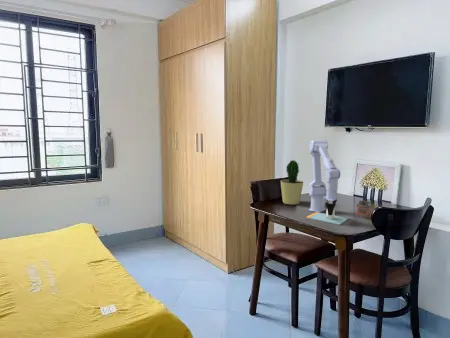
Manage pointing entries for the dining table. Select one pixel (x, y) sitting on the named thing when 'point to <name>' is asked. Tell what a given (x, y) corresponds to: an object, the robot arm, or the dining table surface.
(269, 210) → the dining table surface
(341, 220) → the mat
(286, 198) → the potted cactus
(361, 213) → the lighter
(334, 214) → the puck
